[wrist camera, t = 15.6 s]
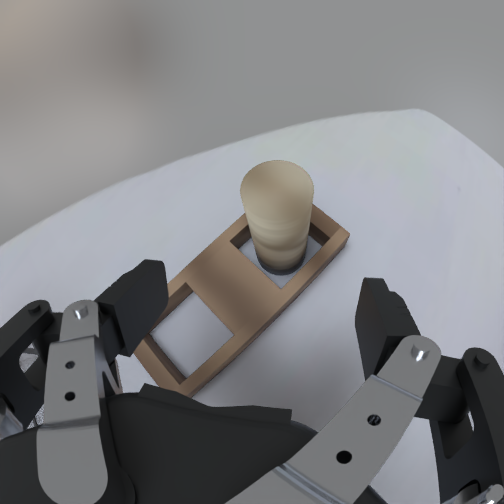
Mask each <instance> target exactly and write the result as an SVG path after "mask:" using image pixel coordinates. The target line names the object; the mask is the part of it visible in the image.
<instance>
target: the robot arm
mask: <svg viewBox="0 0 504 504" xmlns="http://www.w3.org/2000/svg"><path fill="white" fill-rule="evenodd" d="M168 300H169V293H168V286H167V279H166V272H165V266H164V263H163V262H162V261H158V260H148V259H145V260H143V261H142V262H141V263H140V264H139V265H138V266H136V267H135V268H134V269H133V270H131V271H129V272H127V273H125V274H123V275H122V276H121V277H120V278H119V279H117V282H116V281H115V282H114V283H113V284H112V285H111V287H108V288H107V289H106V290H105V291H104V292H103V293H102V294H101V295H100V296H98V297H97V298H96V299H95V300H94V301H92V300H80V301H77V302H74V303H72V304H71V305H69V306H68V307H67V308H66V309H65V310H64V313H52V310H51V307H50V304H49V302H48V301H45V300H37V301H33V302H31V303H29V304H27V305H26V306H25V307H23V308H22V309H21V310H20V311H19V312H18V313H17V314H15V315H14V316H13V317H12V318H11V319H10V320H9V321H8V322H7V323H6V324H4V325H3V326H2V327H1V328H0V504H387V503H386V502H385V501H384V500H383V499H382V498H381V497H380V496H379V495H378V494H377V493H376V492H375V490H374V489H373V488H372V487H371V486H370V485H369V483H370V482H371V481H372V479H373V478H374V477H375V475H376V474H377V473H378V471H379V470H380V469H381V467H382V466H383V465H384V463H385V462H386V460H387V459H388V457H389V456H390V454H391V453H392V451H393V450H394V448H395V447H396V445H397V444H398V442H399V441H400V439H401V437H402V436H403V434H404V432H405V431H406V429H407V427H408V426H409V424H410V422H411V420H412V419H413V417H419V418H424V419H429V422H430V427H431V433H432V438H433V444H434V450H435V457H436V464H437V472H438V481H439V492H440V504H504V375H503V373H502V371H501V369H500V367H499V365H498V363H497V361H496V359H495V358H494V356H493V355H492V354H491V353H489V352H488V351H486V350H484V349H481V348H475V347H474V348H469V349H468V350H466V351H465V353H464V355H463V357H462V359H457V358H452V357H447V356H443V355H441V350H440V348H439V347H438V345H437V344H436V343H435V342H434V341H432V340H431V339H429V338H427V337H424V336H421V334H420V332H419V330H418V328H417V326H416V324H415V322H414V320H413V318H412V316H411V314H410V312H409V310H408V309H407V306H406V304H405V302H404V300H403V298H401V297H400V296H399V295H398V294H397V293H396V292H391V291H389V289H388V287H387V285H386V283H385V281H384V279H382V278H366V277H365V278H364V279H363V282H362V287H361V292H360V296H359V301H358V305H357V310H356V315H355V328H356V333H357V338H358V343H359V348H360V354H361V359H362V364H363V370H364V376H365V383H364V384H363V385H362V386H361V387H360V389H359V390H358V391H357V392H356V393H355V394H354V396H353V397H352V398H351V399H350V400H349V401H348V402H347V403H346V405H345V406H344V407H343V408H342V409H341V410H340V411H339V412H338V413H337V414H336V415H335V416H334V418H333V419H332V420H331V421H330V422H329V423H328V424H327V425H326V426H325V427H324V428H323V429H322V430H321V431H320V432H319V433H318V432H316V431H315V430H313V429H311V428H309V427H308V426H306V425H303V424H301V423H298V422H295V421H292V420H291V413H292V409H280V408H270V407H261V406H253V405H252V406H234V407H210V406H207V405H205V404H202V403H200V402H198V401H196V400H193V399H191V398H189V397H187V396H185V395H183V394H181V393H179V392H177V391H172V390H168V389H164V388H160V387H157V386H153V385H149V384H146V383H144V385H143V387H142V388H141V390H140V392H139V393H138V392H135V393H123V391H122V385H121V380H120V375H119V369H118V363H117V360H116V358H115V357H116V356H117V355H118V354H120V355H123V356H127V357H130V356H131V355H132V354H133V352H134V351H135V349H136V348H137V347H138V345H139V344H140V343H141V341H142V340H143V338H144V337H145V336H146V334H147V333H148V332H149V330H150V329H151V328H152V326H153V325H154V323H155V322H156V321H157V319H158V318H159V317H160V315H161V314H162V313H163V311H164V310H165V309H166V307H167V305H168ZM32 342H33V344H34V346H35V348H36V350H37V352H38V354H39V357H38V358H37V359H36V361H35V362H34V363H33V364H32V365H31V366H30V368H29V369H28V370H27V371H26V372H25V373H23V371H22V369H21V368H20V365H19V358H20V356H21V354H22V353H23V352H24V351H25V350H26V349H27V347H28V346H29V345H30V344H31V343H32ZM43 404H44V422H43V424H41V425H38V426H36V427H33V428H30V429H27V427H28V426H29V424H30V423H31V421H32V420H33V418H34V417H35V415H36V414H37V412H38V411H39V409H40V408H41V407H42V405H43ZM469 412H471V415H472V419H473V422H474V431H473V430H472V426H471V423H470V419H469V416H468V413H469ZM26 429H27V430H26Z"/></svg>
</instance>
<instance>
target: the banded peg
mask: <svg viewBox="0 0 504 504" xmlns="http://www.w3.org/2000/svg"><path fill="white" fill-rule="evenodd" d="M240 194H241V199H242V203H243V206H244V210H245V214H246V217H247V221H248V225H249V228H250V232H251V236H252V240H253V243H254V247H255V251H256V254H257V258H258V261H259V263H260V265H261V266H262V267H263V268H264V269H265V270H266V271H267V272H269V273H271V274H275V275H287V274H290V273H293V272H294V271H296V270H297V269H298V268H299V267H300V266H301V265H302V263H303V261H304V258H305V252H306V246H307V239H308V232H309V225H310V218H311V210H312V202H313V194H314V186H313V182H312V179H311V177H310V176H309V174H308V173H307V172H306V171H305V170H304V169H303V168H301V167H300V166H298V165H296V164H294V163H291V162H288V161H282V160H274V161H267V162H264V163H261V164H259V165H257V166H255V167H254V168H252V169H251V170H250V171H249V172H248V173H247V174H246V175H245V177H244V178H243V181H242V183H241V188H240Z"/></svg>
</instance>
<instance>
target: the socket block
mask: <svg viewBox="0 0 504 504" xmlns="http://www.w3.org/2000/svg"><path fill="white" fill-rule="evenodd" d="M308 234H309V235H310V236H311V237H312V238H313V239H315V240H316V241H317V242H318V243H319V244H321V245H322V246H323V247H322V248H321V249H320V250H319V251H318V252H317V253H316V254H315V255H314V256H313V257H312V258H311V259H310V260H309V261H308V262H307V263H306V264H305V266H304V267H303V268H302V269H301V270H300V271H299V272H298V273H297V274H296V275H295V276H294V277H293V278H292V279H291V280H290V281H289V282H288V283H287V284H286V285H285V286H284V287H283V288H282V289H280V288H279V287H278V286H277V285H276V284H275V283H274V282H272V281H271V280H270V279H269V278H268V277H267V276H266V275H265V274H264V273H263V272H262V271H261V270H260V269H258V268H257V267H256V266H255V265H254V264H253V263H252V262H251V261H250V260H249V259H248V258H247V257H246V256H245V255H243V254H242V253H241V252H240V251H239V250H238V249H239V248H240V247H241V246H242V245H243V244H244V243H245V242H246V241H247V240H248V239H249V238H250V237H251V232H250V228H249V225H248V221H247V217H246V214H245V213H244V214H243V215H242V216H241V217H240V218H239V219H238V220H236V221H235V222H234V223H233V224H232V225H231V226H230V227H229V228H228V229H226V230H225V231H224V232H223V233H222V234H221V235H220V236H219V237H218V238H217V239H215V240H214V241H213V242H212V243H211V244H210V245H209V246H208V247H207V248H206V249H205V250H203V251H202V252H201V253H200V254H199V255H198V256H197V257H196V258H195V259H194V260H193V261H192V262H191V263H189V264H188V265H187V266H186V267H185V268H184V269H183V270H182V271H181V272H180V273H179V274H178V275H177V276H176V277H175V278H173V279H172V280H171V281H170V282H169V283H168V284H167V286H168V293H169V300H168V305H167V307H166V309H165V310H164V311H163V313H162V314H161V315H160V317H159V318H158V319H157V321H156V322H155V323H154V325H153V326H152V328H151V329H150V330H149V332H148V333H147V334H146V336H145V337H144V338H143V340H142V341H141V343H140V344H139V345H138V347H137V348H136V349H135V351H134V352H133V353H134V354H135V356H136V357H137V359H138V360H139V361H140V363H141V364H142V365H143V367H144V368H145V369H146V371H147V372H148V373H149V374H150V376H151V377H152V378H153V380H154V381H155V382H156V383H157V385H158V386H159V387H160V388H164V389H168V390H172V391H177V392H179V393H181V394H183V395H185V396H187V397H189V398H191V397H192V396H193V395H195V394H196V393H197V392H198V391H199V390H200V389H201V388H203V387H204V386H205V385H206V384H207V383H208V382H209V381H210V380H212V379H213V378H214V377H215V376H216V375H217V374H218V373H219V372H220V371H222V370H223V369H224V368H225V367H226V366H227V365H228V364H229V363H230V362H231V361H232V360H234V359H235V358H236V357H237V356H238V355H239V354H240V353H241V352H242V351H243V350H244V349H245V348H246V347H247V346H248V345H249V344H251V343H252V342H253V341H254V340H255V339H256V338H257V337H258V336H259V335H260V334H261V333H262V332H263V331H264V330H265V329H266V328H267V327H268V326H269V325H270V324H271V323H272V322H273V321H274V320H275V319H276V318H277V317H278V316H279V315H280V314H281V313H282V312H283V311H284V310H285V309H286V308H287V307H288V306H289V305H290V304H291V303H292V302H293V301H294V300H295V299H296V298H297V297H298V296H299V295H300V294H301V293H302V292H303V291H304V290H305V289H306V287H307V286H308V285H309V284H310V283H311V282H312V281H313V280H314V279H315V278H316V277H317V276H318V275H319V274H320V273H321V272H322V270H323V269H324V268H325V267H326V266H327V265H328V264H329V263H330V262H331V261H332V260H333V259H334V257H335V256H336V255H337V254H338V253H339V252H340V251H341V250H342V249H343V247H344V246H345V245H346V242H347V240H348V238H349V236H350V233H349V232H347V231H346V230H345V229H344V228H343V227H341V226H340V225H339V224H338V223H336V222H335V221H334V220H333V219H331V218H330V217H329V216H328V215H326V214H325V213H324V212H322V211H321V210H320V209H319V208H317V207H316V206H315V205H313V204H312V210H311V218H310V225H309V232H308ZM193 291H194V292H195V293H196V294H197V295H198V296H199V297H200V299H201V300H202V301H203V302H204V303H205V304H206V305H207V306H208V307H209V308H210V309H211V311H212V312H213V313H214V314H215V315H216V316H217V317H218V318H219V319H220V320H221V321H222V322H223V323H224V324H225V325H226V327H227V328H228V329H229V330H230V331H231V332H232V333H233V334H234V336H233V337H232V338H231V339H229V340H228V341H227V342H226V343H225V344H224V345H223V346H222V347H221V348H220V349H219V350H218V351H217V352H216V353H214V354H213V355H212V356H211V357H210V358H209V359H208V360H207V361H206V362H205V363H204V364H202V365H201V366H200V367H199V368H198V369H197V370H196V371H195V372H194V373H193V374H191V375H190V376H189V377H188V378H187V379H185V377H184V376H183V375H182V374H181V373H180V372H179V370H178V369H177V368H176V367H175V366H174V364H173V363H172V362H171V361H170V360H169V358H168V357H167V356H166V355H165V353H164V352H163V351H162V350H161V348H160V347H159V346H158V345H157V343H156V342H155V341H154V339H153V338H152V337H151V336H150V334H149V333H150V332H151V331H152V330H153V329H154V328H155V327H156V326H157V325H158V324H159V323H160V322H161V321H162V320H163V319H164V318H165V317H166V316H167V315H168V314H169V313H170V312H172V311H173V310H174V309H175V308H176V307H177V306H178V305H179V304H180V303H181V302H182V301H183V300H184V299H185V298H186V297H187V296H188V295H189V294H191V293H192V292H193Z"/></svg>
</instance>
